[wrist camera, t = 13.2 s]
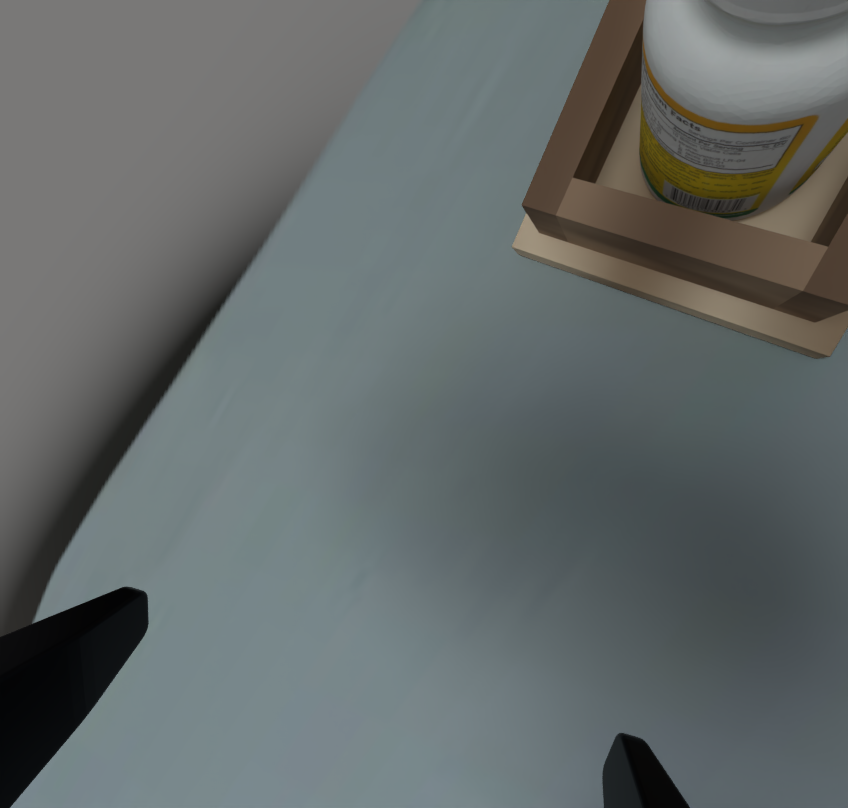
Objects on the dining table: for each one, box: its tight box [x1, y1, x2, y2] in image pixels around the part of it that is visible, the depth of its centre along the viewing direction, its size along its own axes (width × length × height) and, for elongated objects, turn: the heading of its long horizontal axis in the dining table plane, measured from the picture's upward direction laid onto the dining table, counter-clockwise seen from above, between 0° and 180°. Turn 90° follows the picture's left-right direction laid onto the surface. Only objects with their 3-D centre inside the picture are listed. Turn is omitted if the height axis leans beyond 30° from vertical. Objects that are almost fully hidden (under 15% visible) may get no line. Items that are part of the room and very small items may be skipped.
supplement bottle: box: [639, 0, 848, 221], centre depth 11 cm, size 5×5×10 cm
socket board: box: [512, 0, 848, 359], centre depth 15 cm, size 11×11×4 cm
